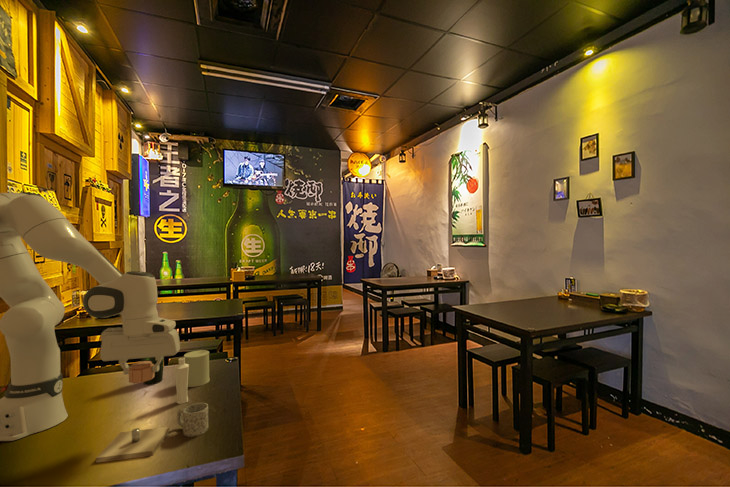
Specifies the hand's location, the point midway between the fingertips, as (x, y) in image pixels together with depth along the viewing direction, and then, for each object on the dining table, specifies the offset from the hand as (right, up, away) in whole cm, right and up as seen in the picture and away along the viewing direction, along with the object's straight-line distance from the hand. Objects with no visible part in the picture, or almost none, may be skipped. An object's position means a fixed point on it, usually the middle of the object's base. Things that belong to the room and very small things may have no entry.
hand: (141, 372), depth 100 cm
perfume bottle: (+2, -18, +19) cm, 26 cm away
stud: (+3, -16, -8) cm, 18 cm away
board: (+3, -17, -8) cm, 19 cm away
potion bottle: (-20, -18, +37) cm, 45 cm away
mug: (+15, -17, 0) cm, 23 cm away
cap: (0, -2, 0) cm, 2 cm away
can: (-1, -18, +35) cm, 40 cm away
